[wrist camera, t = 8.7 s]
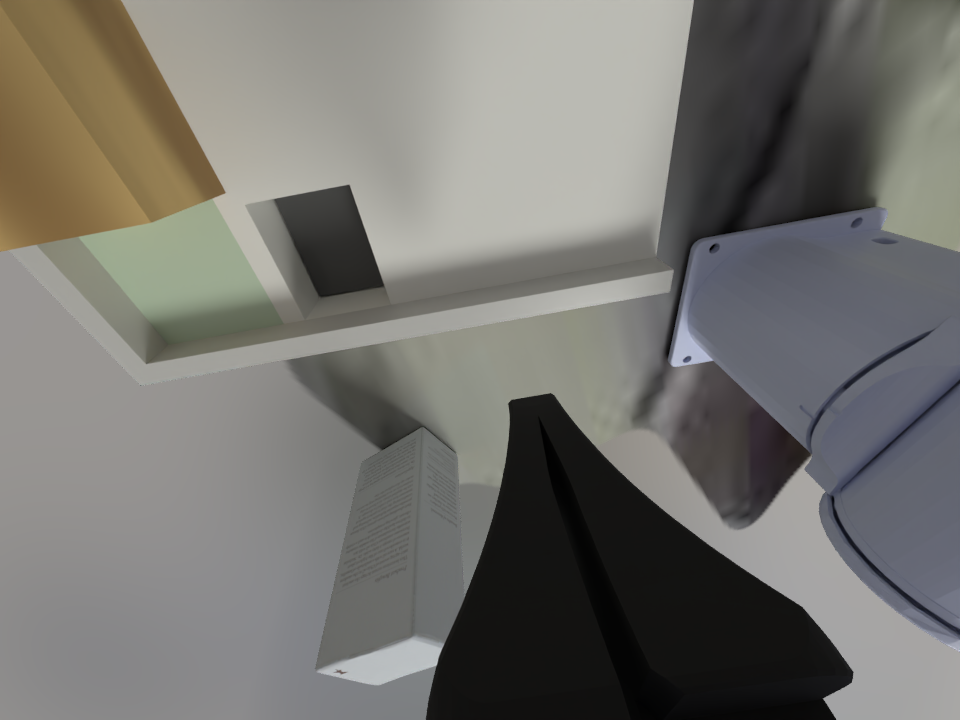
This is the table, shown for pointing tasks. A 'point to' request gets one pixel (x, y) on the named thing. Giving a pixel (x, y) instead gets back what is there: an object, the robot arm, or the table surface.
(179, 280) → the trap box
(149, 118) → the ochre block
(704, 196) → the table surface
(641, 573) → the robot arm
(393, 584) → the skincare box
